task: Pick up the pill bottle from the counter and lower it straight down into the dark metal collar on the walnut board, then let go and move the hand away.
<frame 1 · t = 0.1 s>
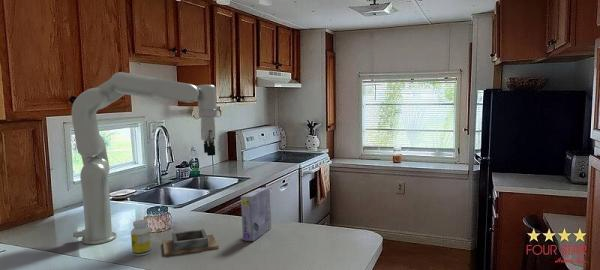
hand: (209, 153, 183), 31 cm above the countertop, tool pointing down, fingers open, 9 cm apart
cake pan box: (258, 234, 173), on the countertop
collar board: (190, 246, 161), on the countertop
pill bottle: (141, 253, 155), on the countertop
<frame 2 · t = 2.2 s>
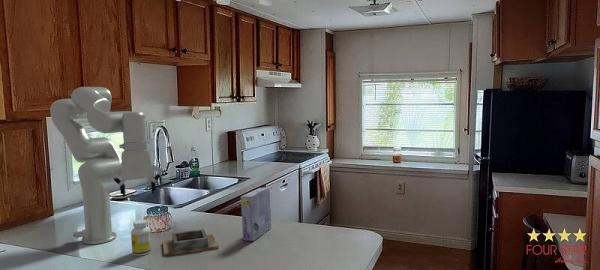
hand: (138, 194, 153), 22 cm above the countertop, tool pointing down, fingers open, 9 cm apart
nothing on the countertop moved.
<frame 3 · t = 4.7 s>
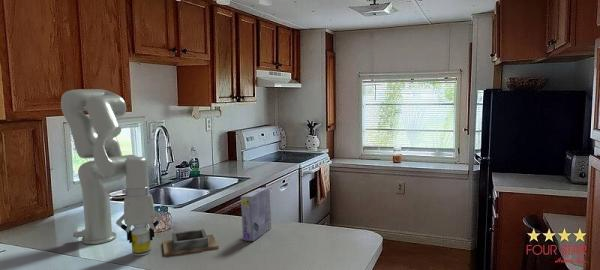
hand: (141, 240, 155), 5 cm above the countertop, tool pointing down, fingers closed on pill bottle, 6 cm apart
pill bottle: (141, 253, 155), on the countertop, touching gripper
everything else where it was.
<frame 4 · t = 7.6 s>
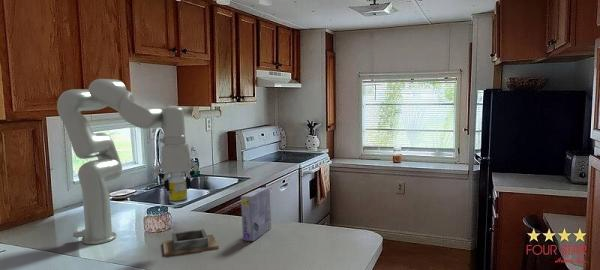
hand: (177, 189, 157), 22 cm above the countertop, tool pointing down, fingers closed on pill bottle, 6 cm apart
pill bottle: (178, 202, 158), point 17 cm above the countertop, touching gripper
everything else where it was.
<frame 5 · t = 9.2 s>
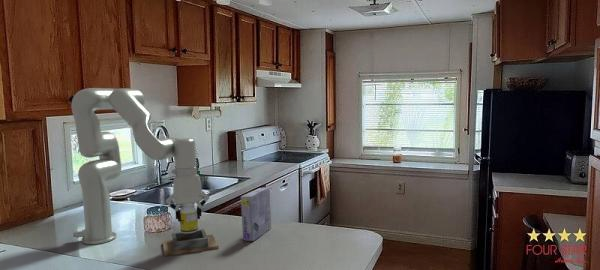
hand: (188, 219, 160), 10 cm above the countertop, tool pointing down, fingers closed on pill bottle, 6 cm apart
pill bottle: (189, 231, 160), point 5 cm above the countertop, touching gripper
everything else where it was.
when the fingers open (6 cm above the countertop, at t = 10.5 s): pill bottle stays where it is, resting on collar board.
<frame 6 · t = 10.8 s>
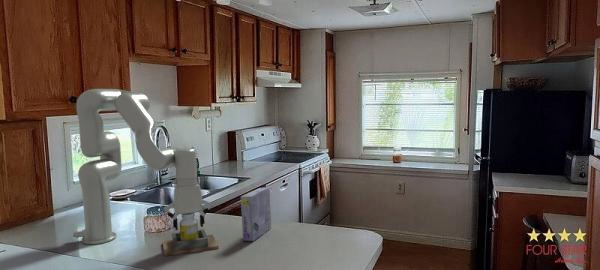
hand: (189, 227, 160), 7 cm above the countertop, tool pointing down, fingers open, 8 cm apart
pill bottle: (189, 243, 161), point 1 cm above the countertop, touching collar board
everything else where it was.
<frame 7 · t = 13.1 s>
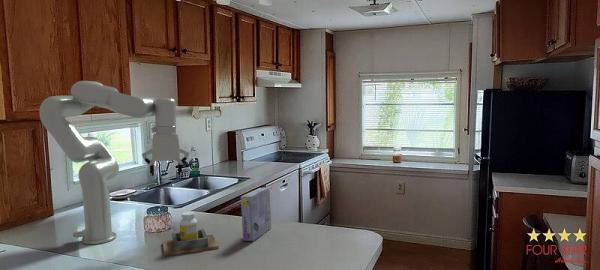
hand: (166, 174, 165), 26 cm above the countertop, tool pointing down, fingers open, 9 cm apart
nothing on the countertop moved.
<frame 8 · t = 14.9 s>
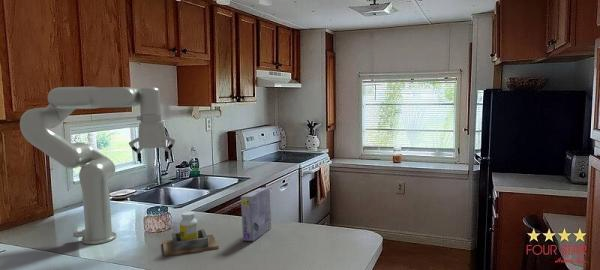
hand: (153, 162, 170), 30 cm above the countertop, tool pointing down, fingers open, 9 cm apart
nothing on the countertop moved.
at the end: pill bottle 0.1 cm off-centre on the collar board, point 0.8 cm above the collar board's base; pill bottle tilted 0°; the gripper is holding nothing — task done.
